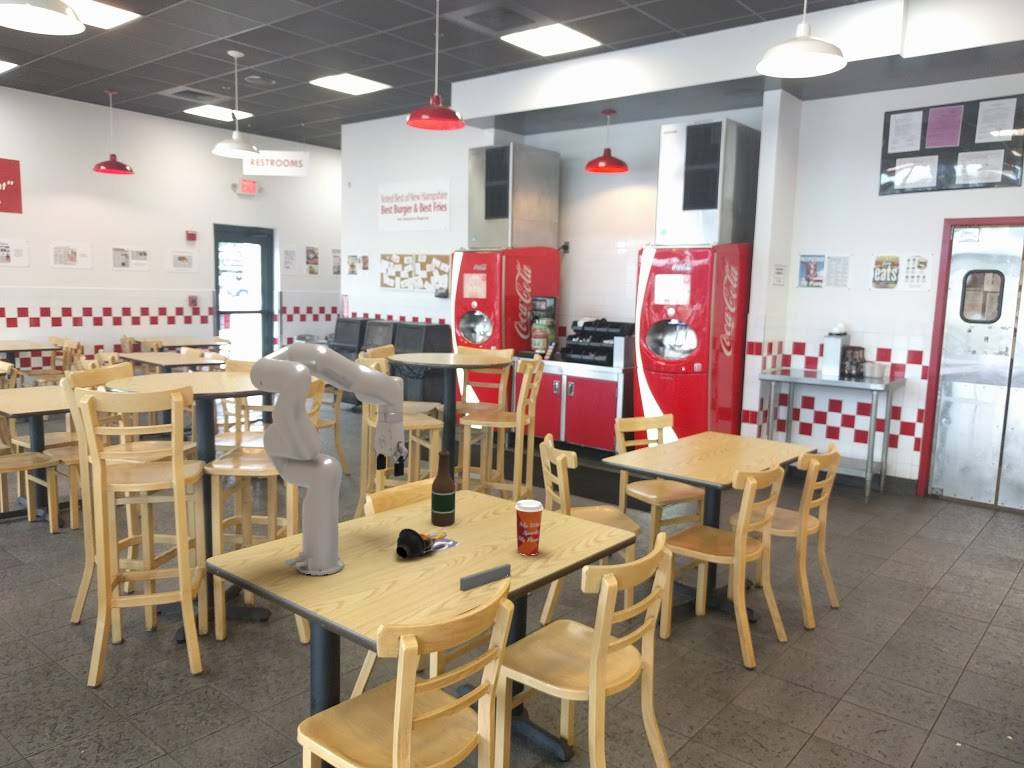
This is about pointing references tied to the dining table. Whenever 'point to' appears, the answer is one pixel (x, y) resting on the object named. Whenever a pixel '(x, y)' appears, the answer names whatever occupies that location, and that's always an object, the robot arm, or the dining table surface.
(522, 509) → the coffee cup
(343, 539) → the dining table surface
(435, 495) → the beer bottle
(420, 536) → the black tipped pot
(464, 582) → the rail
